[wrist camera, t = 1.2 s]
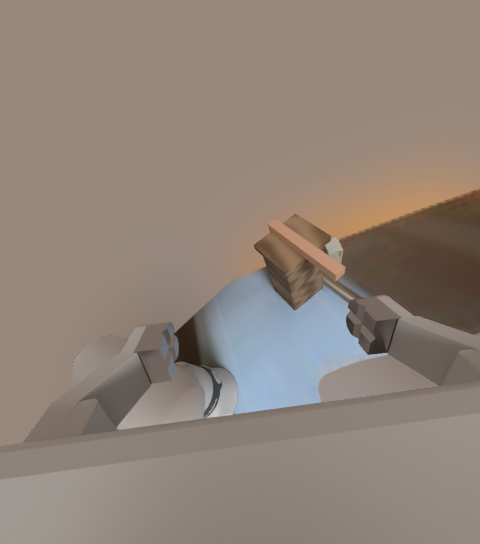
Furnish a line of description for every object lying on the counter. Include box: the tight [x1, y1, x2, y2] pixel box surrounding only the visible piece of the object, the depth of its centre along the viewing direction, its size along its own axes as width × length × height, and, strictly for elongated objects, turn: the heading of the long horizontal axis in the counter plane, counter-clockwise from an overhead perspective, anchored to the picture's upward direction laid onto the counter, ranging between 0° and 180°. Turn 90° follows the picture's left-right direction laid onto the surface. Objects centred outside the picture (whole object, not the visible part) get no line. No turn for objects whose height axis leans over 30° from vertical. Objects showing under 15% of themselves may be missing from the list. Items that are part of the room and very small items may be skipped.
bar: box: [268, 219, 346, 281], centre depth 47 cm, size 2×21×2 cm, turn 34°
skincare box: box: [324, 236, 343, 264], centre depth 67 cm, size 6×4×12 cm
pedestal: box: [254, 214, 331, 310], centre depth 61 cm, size 14×12×26 cm
